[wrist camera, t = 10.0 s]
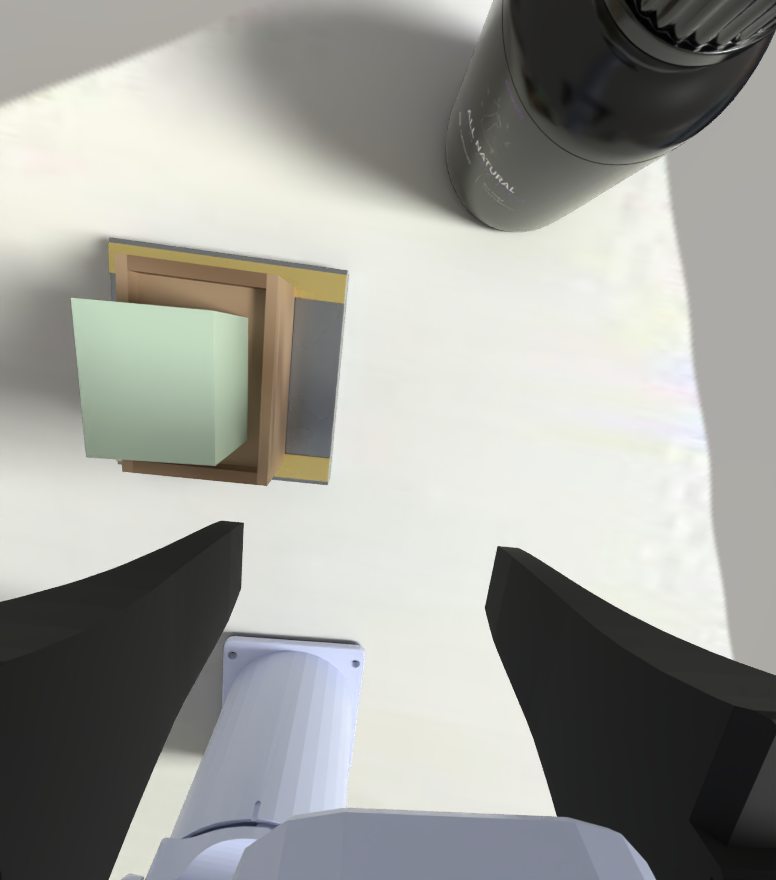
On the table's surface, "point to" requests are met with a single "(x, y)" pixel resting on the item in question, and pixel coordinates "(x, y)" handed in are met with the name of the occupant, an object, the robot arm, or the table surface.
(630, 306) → the table surface
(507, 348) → the table surface
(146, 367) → the pale green block
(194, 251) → the dock
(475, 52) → the supplement bottle
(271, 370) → the open wooden box
